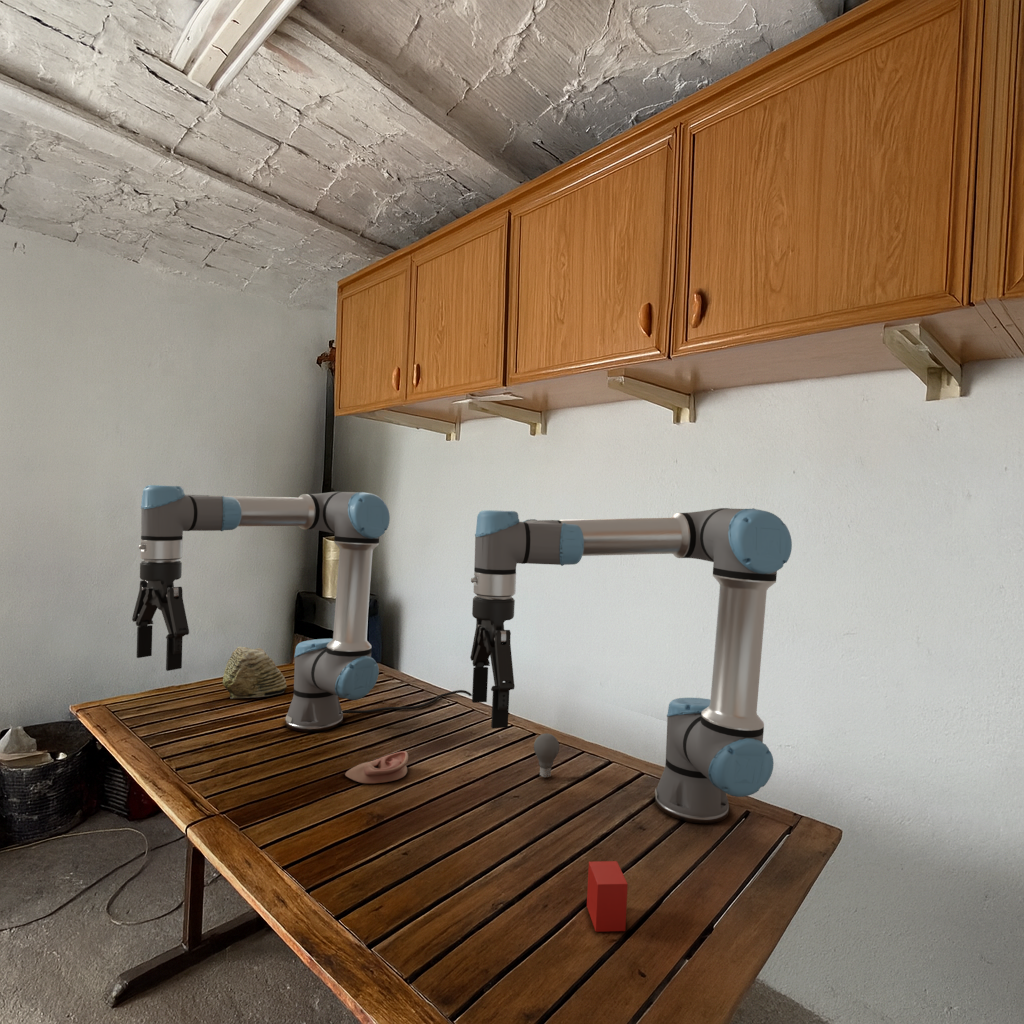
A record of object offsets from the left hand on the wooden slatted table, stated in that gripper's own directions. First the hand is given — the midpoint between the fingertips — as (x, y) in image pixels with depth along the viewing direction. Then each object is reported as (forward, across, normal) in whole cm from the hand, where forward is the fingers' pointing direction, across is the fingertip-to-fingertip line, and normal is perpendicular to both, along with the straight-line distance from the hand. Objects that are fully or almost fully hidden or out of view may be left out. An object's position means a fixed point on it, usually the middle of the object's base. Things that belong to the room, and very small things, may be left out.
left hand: (158, 662), depth 131 cm
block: (+28, +90, +28) cm, 99 cm away
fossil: (+28, -46, +49) cm, 73 cm away
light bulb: (+28, +55, +63) cm, 88 cm away
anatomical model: (+28, +25, +38) cm, 53 cm away
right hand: (+2, +65, +29) cm, 71 cm away
